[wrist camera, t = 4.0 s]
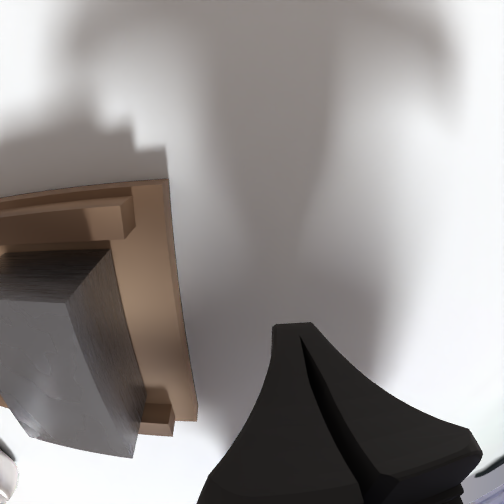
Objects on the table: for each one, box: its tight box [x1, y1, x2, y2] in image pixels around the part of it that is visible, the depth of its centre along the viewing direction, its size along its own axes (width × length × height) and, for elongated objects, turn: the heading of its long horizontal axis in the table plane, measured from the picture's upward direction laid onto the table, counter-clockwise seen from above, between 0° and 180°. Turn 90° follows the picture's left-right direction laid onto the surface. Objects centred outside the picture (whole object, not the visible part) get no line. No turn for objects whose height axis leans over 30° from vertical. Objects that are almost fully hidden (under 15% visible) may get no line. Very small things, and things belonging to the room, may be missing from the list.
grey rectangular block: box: [0, 249, 147, 458], centre depth 10 cm, size 7×5×4 cm
